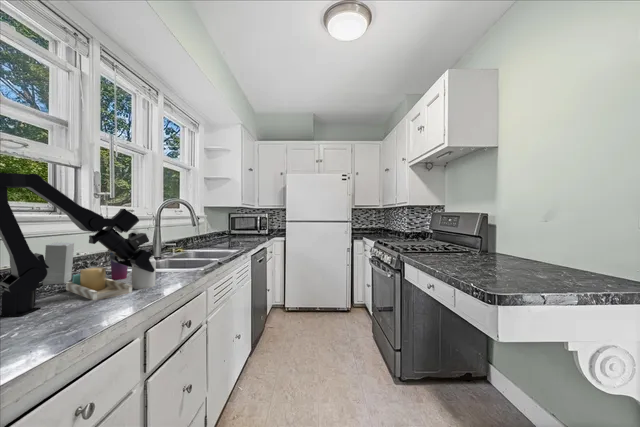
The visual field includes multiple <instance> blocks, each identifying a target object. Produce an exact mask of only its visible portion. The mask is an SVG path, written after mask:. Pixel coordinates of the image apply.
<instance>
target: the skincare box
mask: <svg viewBox="0 0 640 427" xmlns="http://www.w3.org/2000/svg"><path fill="white" fill-rule="evenodd" d="M74 248H75V242H62V241H61V242H58V241H57V242H52V243H49V244H46V245H45V252H44V260H45V263H46V265H47V266H49V268H46V269H47V276H46V277H45V279H44V280H43V281H42V287H45V286H49V285H60V284H61V285H62V284H64V285H65V284H66V282H70V281H71V280H72V278H73V273H72V272H73V263H74V262H73V261H74Z"/></svg>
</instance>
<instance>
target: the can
mask: <svg viewBox="0 0 640 427" xmlns="http://www.w3.org/2000/svg"><path fill="white" fill-rule="evenodd" d="M149 260H150V262H151V264H152V266H153V268H154V270H155V271H154V272H149V271H146V270H143V269H140V268H136V267H134V265H132V267H131V285H132V290H143V289H144V290H145V289H150V288H154V287H156V271H157V270H156V268H157V260H156V259H155V256H154V255H152V256H151V257H150V258H149Z"/></svg>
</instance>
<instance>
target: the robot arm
mask: <svg viewBox="0 0 640 427" xmlns="http://www.w3.org/2000/svg"><path fill="white" fill-rule="evenodd" d="M15 188H16V189H21V188H22V189H25V188H26V189H27V190H29V191H31V192H33V193H34V194H36V195H37V196H38V197H40V198H41V199H43V200H44V201H45V202H47V203H49V204H50V205H52V206H53V207H55V208H56V209H57V210H59V211H61V212H63V213H64V214H65V215H66V216H67V217H68V218H69V219H70V221H71V222H72V223H73V224H74V225H75V226H77V227H78V229H80V231H83V232H89V233H94V234H93V235H91V234H89V235H88V238H89V239H88V244H92V245H95V244H97V243H99V244H101V245H103V247H105V248H106V249H107V250H106V251H107V252H109V253H110V252H111V253H113V254H112V255H111V256H110V261H111V260H112V261H114V262H116V263H118V264H122V265H125V266H128V267H129V268H132V265H134V267H136V268H140V269H143V270H146V271H149V272H154V271H155V270H154V268H153V266H152V264H151V262H150V260H149V258H150V257H151V256H154V255H153V252H152V251H151V250H150V249H147V248H143V249H142V248H141V249H140V246H142V245H145V244H146V243H149V242H150V239H149V237H148V235H147V233H144V232H138V233H136V232H129V231H131V229H133V227H134V226H136V225H137V223H139V222H140V219H139V217H138V216H137V215H136V214H135V213H134V214H133V213H132V212H131V211H129V210H127V209H126V208H121V209H120V210H118V212H116V213H115V215H114V216H112V217H110V218H109V217H108V218H107V217H104V216H103V215H101V214H99V213H97V212H95V211H94V210H91V209H88V208H86V207H84V206H82V205H80V204H79V203H77V202H75V200H73V199H71V198H70V197H69V196H67V195H66V194H65V193H63V192H62V191H60V190H59V189H57V188H56V187H55V186H53V185H52V184H50V183H49V182H47V181H46V180H45V179H44V178H43V177H42V176H41V175H39V174H36V173H15V172H14V173H13V172H0V239H1V240H2V243H3V244H4V246H5V249H6V251H7V252H8V255H9V266H10V271H11V273H10V274H9V275H8V276H7V277H5V278H4V279H3V280H1V281H0V286H1V288H2V290H4V291H3V292H1V306H0V308H1V310H0V317H21V316H22V317H23V316H25V315H27V314H30V313H32V312H35V311H38V310H40V309H41V307H40V306H39V307H38V306H36V290H37V288H38V286H39V284H40V283H41V282H43V280H44V279H45V277H46V276H47V269H46V268H49V266H47V265H46V263H45V255H44V254H42V253H37V252H35V253H34V252H33V251H32V250H31V248H30V246H29V244H28V242H27V240H26V238H25V235H24V233H23V231H22V229H21V226H20V225H19V223H18V221H17V218H16V216H15V214H14V212H13V210H12V207H11V206H10V203H9V196H8V189H15ZM128 232H129V233H128ZM122 233H128V235H127V238H124V236H123V235H121V234H122ZM118 260H119V261H118Z"/></svg>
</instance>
